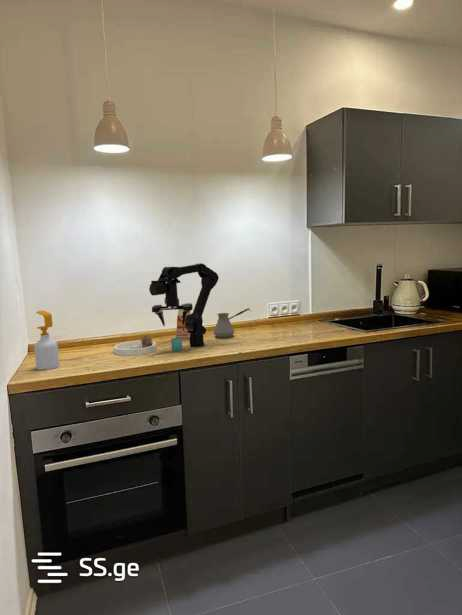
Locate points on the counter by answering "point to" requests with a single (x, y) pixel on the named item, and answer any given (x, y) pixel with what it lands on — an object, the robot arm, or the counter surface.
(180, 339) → the teal bead
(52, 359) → the soap bottle
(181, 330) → the red figurine
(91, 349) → the counter surface
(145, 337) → the walnut bead
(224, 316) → the coffee pot
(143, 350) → the dish
